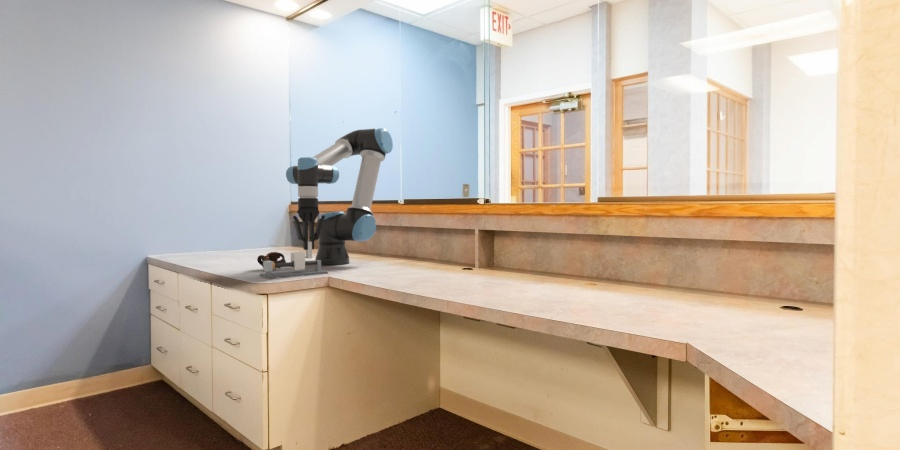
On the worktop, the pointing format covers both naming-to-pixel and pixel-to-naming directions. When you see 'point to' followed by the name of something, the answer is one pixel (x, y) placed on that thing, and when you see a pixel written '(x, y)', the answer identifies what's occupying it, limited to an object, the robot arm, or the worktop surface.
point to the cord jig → (270, 266)
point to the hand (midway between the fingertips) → (308, 258)
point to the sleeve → (298, 260)
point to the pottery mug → (271, 258)
